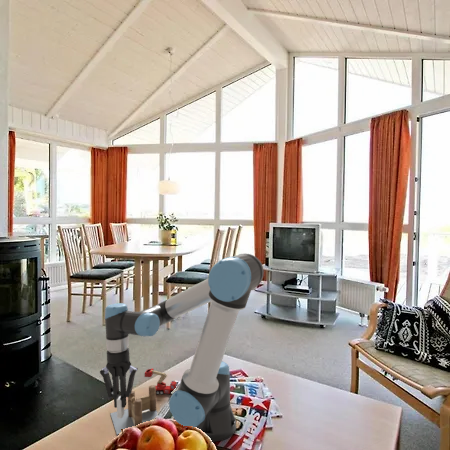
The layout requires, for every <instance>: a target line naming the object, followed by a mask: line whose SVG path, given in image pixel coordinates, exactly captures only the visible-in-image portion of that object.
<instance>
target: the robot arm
mask: <svg viewBox="0 0 450 450" xmlns="http://www.w3.org/2000/svg"><path fill="white" fill-rule="evenodd" d="M264 275H265V274H264V266H263V264H262V262H261V260H260V259H259V258H258V257H257V256H255V255H253V254H251V253H250V254H249V253H239V254H238V255H233V256H228V257H224V258H222V259H221V260H219V261H217V262H216V263H215V264H214V265H213V266H212V267H211V269H210V271H209V273H208V278H206V279H205V280H202V281H201V282H199V283H196V284H194V285H193V286H191V287H188V288H187V289H185V290H183V291H181V292H179V293H177V294H174V296H171V297H170V298H168V299H167V298H166V299H165V300H164V301H161V302H160V303H157V304H155V305H152V306H150V307H148V308H146V309H142V310H141V311H130V310H129V309H128V305H127V304H126V303H124V302H123V303H122V302H120V303H111V304H109V305H107V306H106V307H105V309H104V313H105V314H104V323H105V345H106V350H107V351H106V365H105V367H102V369H101V370H99V373H100V375H101V376H102V379H103V382H104V386H105V389H106V393H107V397H109V398H113V405H114V406H113V407H114V408H115V409H116V412H117V418H122V417H123V415H124V410H125V409H126V408H125V407H126V406H127V398H128V397H129V396H130V394H131V392H132V391H133V386H134V381H135V377H136V373H137V372H138V367H137V366H133V365H132V362H131V361H130V357H131V356H130V348H129V347H130V338H129V337H130V336H129V335H134V336H139V337H153V336H155V335H156V334H157V332H159V330H160V327H161V326H164V325H166V324H167V323H169V322H171V321H173V320H175V319H177V318H179V317H181V316H184V315H185V314H188V313H189V312H190V313H191V312H192V311H194V310H196V309H198V308H202V306H204V305H205V306H206V305H207V304H209V303H210V306H209V308H208V310H207V315H206V317H205V321H204V323H203V327H202V329H201V334H200V336H199V340H198V343H197V346H196V349H195V352H194V355H193V359H192V361H191V365H190V367H189V368H188V369H186V370H185V371H184V372H183V374H182V377H181V380H180V382H179V385H178V390H177V391H175V392H174V393H173V394H171V397H170V398H169V399H168V400H169V401H168V408H169V412H170V413H171V415H172V418H173V419H174V420H175V421H176V423H178V424H179V425H180V424H181V425H180V426H182V425H183V427H184V426H193V427H197V428H199V429H201V430H202V431H203V432H205V433H206V434H207V435H208V436H209V437H210V438H211V440H212V441H211V442H219V441H224V440H226V439H229V438H230V437H231V436H233V435H234V434H235V432H236V431H237V421H236V420H237V419H236V418H235V417H236V416H235V414H234V411H233V409H232V406H231V380H230V379H231V372H230V366H229V364H228V363H227V362H225V361H223V359H224V355H225V353H226V350H227V347H228V344H229V341H230V338H231V336H232V332H233V330H234V326H235V323H236V320H237V318H238V314H239V312H240V311H242V310H244V309H245V308H246V306H247V304H248V300H249V298H250V295H251V292H252V290H254V289H256V288H257V287H258V286H259V285H260V284H261V283H262V281H263V278H264ZM128 371H129V376H128V383H127V378H126V377H127V373H128ZM110 375H111V376H110ZM193 427H192V428H193Z"/></svg>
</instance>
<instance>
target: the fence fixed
mask: <svg viewBox="0 0 450 450" xmlns="http://www.w3.org/2000/svg"><path fill="white" fill-rule="evenodd" d="M156 386H157V385H155V384H152V385H149V386H148V394H145V395H143V396H138V397H135V400H137V399H141V400H142V411H144V410H148V409H149V410H150V411H155V410H156V411H157V393H156ZM131 402H132V401H131V400H128V399H127V409H128V416H129V417H132V407H131ZM133 402H134V401H133Z"/></svg>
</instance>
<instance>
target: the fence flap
mask: <svg viewBox="0 0 450 450" xmlns="http://www.w3.org/2000/svg"><path fill="white" fill-rule="evenodd" d="M128 400H131V401H132V402H131V407H132V417H133V418H134V420H135V426H136V425H138V424H140V423H142V400H141V399H137V400H136V394H135V390H132V392H131V394H130V396H129V397H127V401H128ZM133 401H134V402H133Z"/></svg>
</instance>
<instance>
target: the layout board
mask: <svg viewBox="0 0 450 450" xmlns="http://www.w3.org/2000/svg"><path fill="white" fill-rule="evenodd" d="M157 413H158V411H157V409H156V410H155V411H150V410H149V409H148V410H144V411H142V423H143V422H146V421H150V420H152V419H154V418H155V417H156V416H157ZM110 417H111V421H112V423H113V427H114V430H115V433H116V436H119V435H118V434H119V433H120V432H121V429H125V428H128V427H132V426H135V420H134V418H133V417H129V416H128V408H124V415H123V417H122V418H117V411H114V412H111V413H110Z"/></svg>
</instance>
